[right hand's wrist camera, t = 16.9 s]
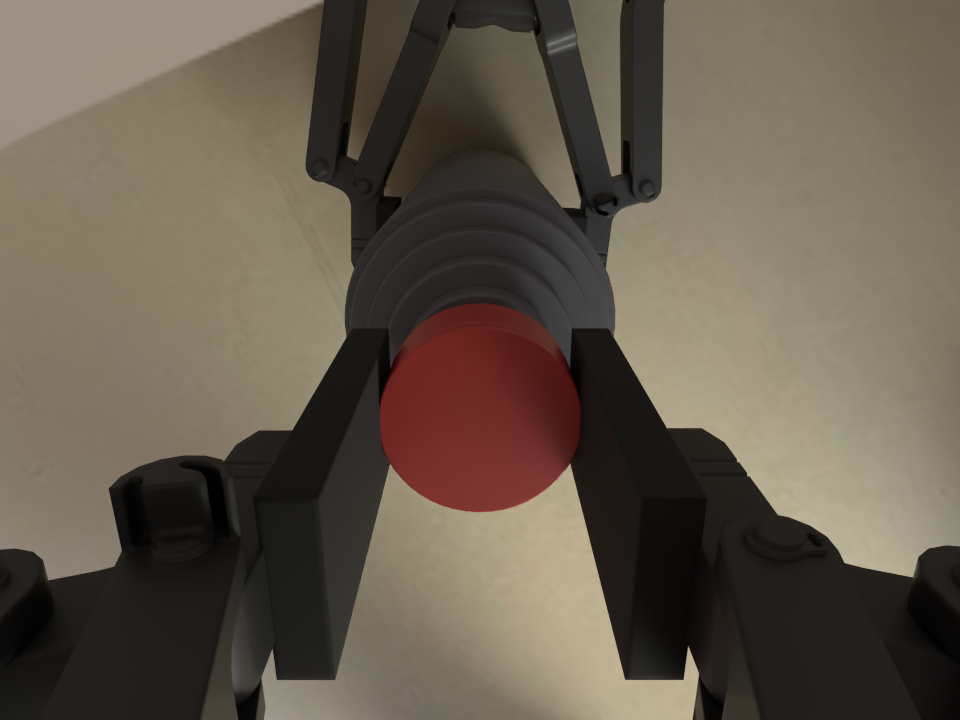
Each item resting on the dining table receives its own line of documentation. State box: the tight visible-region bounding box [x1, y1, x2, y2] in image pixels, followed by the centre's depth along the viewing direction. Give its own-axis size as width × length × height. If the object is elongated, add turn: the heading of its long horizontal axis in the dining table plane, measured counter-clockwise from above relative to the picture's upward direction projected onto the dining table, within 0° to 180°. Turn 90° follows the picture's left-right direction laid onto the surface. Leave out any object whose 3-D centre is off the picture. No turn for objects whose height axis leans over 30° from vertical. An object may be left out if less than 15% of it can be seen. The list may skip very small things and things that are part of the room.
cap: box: [379, 303, 581, 512], centre depth 14 cm, size 4×4×2 cm
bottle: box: [345, 149, 615, 368], centre depth 25 cm, size 7×7×24 cm
